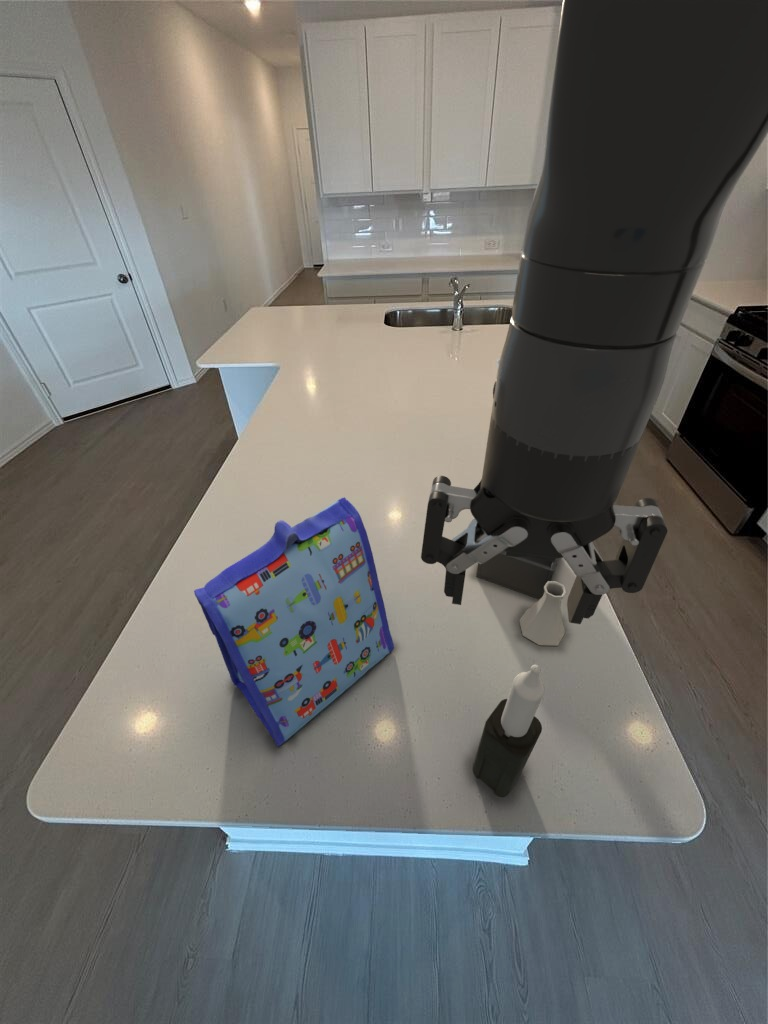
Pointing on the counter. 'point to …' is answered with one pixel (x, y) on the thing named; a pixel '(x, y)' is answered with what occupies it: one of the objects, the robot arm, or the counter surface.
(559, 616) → the flask
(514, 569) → the bin
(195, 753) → the counter surface
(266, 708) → the lunch bag
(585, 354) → the robot arm
